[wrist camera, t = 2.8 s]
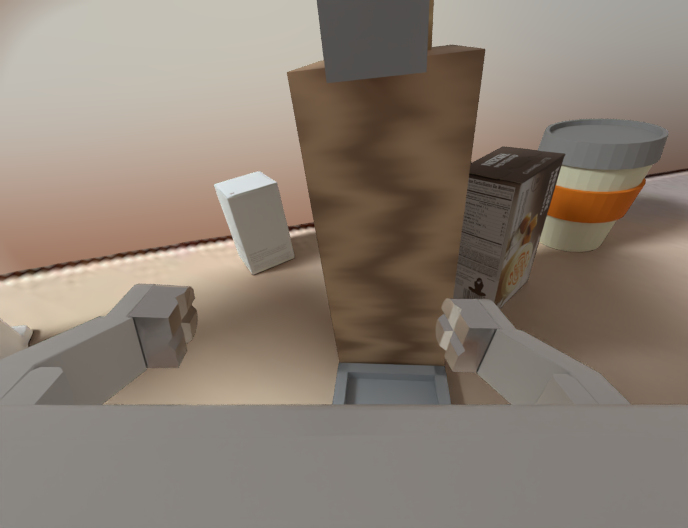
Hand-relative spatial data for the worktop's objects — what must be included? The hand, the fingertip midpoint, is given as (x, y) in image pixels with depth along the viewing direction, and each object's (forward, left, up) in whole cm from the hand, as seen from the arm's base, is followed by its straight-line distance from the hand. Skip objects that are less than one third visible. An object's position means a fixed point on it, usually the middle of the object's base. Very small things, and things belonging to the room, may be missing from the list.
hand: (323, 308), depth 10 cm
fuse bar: (+2, +13, +6) cm, 14 cm away
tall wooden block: (+2, +17, -20) cm, 26 cm away
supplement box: (-18, +33, -20) cm, 43 cm away
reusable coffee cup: (+28, +37, -20) cm, 50 cm away
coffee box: (+14, +25, -20) cm, 35 cm away
